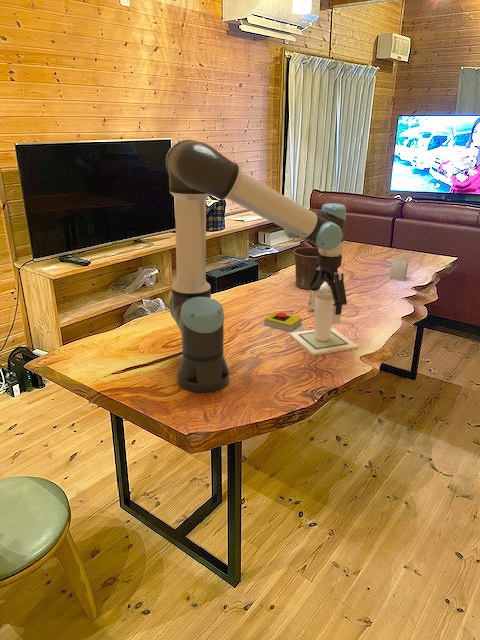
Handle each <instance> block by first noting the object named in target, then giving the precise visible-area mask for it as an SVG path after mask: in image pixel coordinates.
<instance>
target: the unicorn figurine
mask: <svg viewBox="0 0 480 640" xmlns="http://www.w3.org/2000/svg"><path fill="white" fill-rule="evenodd" d="M318 290H320V294H329V295H332V292H331V289H330V286H328V283H326V281H324V283H323V284H322V285H321V287H320V289H318ZM332 296H333V295H332ZM311 300H312V290H310V295H309V299H308V301H307V306H308V308H310V309H311Z"/></svg>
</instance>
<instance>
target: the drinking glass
mask: <svg viewBox="0 0 480 640" xmlns="http://www.w3.org/2000/svg"><path fill="white" fill-rule="evenodd" d="M334 303H335V302H334V299H333V296H332V295H330V294H329V293H327V294H319V295H316V296H315V304H314V309H313V310H314V311H313V313H314V317H313V318H314V321H313V322H314V323H313V324H314V329H315V332H314V337H315V339H316V340H319V341H327V340H329V339H330V333H331V327H332V328H333V324H332V323H331V322H332V311H333V304H334Z"/></svg>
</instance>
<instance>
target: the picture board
mask: <svg viewBox="0 0 480 640" xmlns="http://www.w3.org/2000/svg"><path fill="white" fill-rule="evenodd" d="M314 332H315V328H314V329H306V330H300V331H299V332H293V333H291V332H288V336H289V337H290V339H292V340H293V341H295V342H296V343H297V344H298V345H299V346H300V347H301V348H302V349H304V350H305V351H306V352H307V353H308V354H309V355H311V357H316V356H315V355H317V356H322V355H321V354H323V355H327V354H326V353H329V354H332V353H331V352H335V353H339V352H338V351H341V352H344V351H343V350H346V351H351V350H350V349H352V350H357V349H356V348H359V345H357V344H356V343H355V342H354V341H352V340H350V339H349V338H348V337H347V336H345V335H343V334H342V333H341V332H339V331H338V330H336V329H335V328H334V327H333V326H332V327H331V333H330V339H329V340H327V341H319V340H316V339H315V337H314Z"/></svg>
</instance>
